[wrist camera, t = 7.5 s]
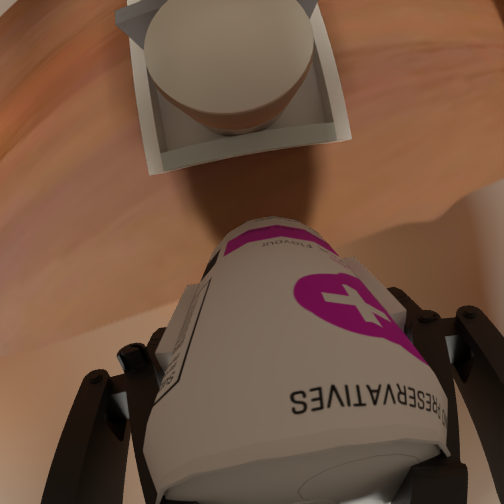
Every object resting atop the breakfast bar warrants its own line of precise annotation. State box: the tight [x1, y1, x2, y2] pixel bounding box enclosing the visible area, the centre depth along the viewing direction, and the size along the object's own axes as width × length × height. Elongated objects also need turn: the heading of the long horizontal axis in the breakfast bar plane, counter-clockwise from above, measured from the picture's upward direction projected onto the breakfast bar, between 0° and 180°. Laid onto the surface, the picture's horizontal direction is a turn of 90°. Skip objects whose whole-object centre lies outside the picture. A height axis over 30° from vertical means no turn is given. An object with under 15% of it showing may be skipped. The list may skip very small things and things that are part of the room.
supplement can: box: [143, 216, 451, 504], centre depth 11 cm, size 8×8×15 cm
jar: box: [144, 0, 314, 137], centre depth 13 cm, size 7×7×9 cm
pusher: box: [115, 0, 318, 50], centre depth 12 cm, size 10×1×8 cm, turn 100°
